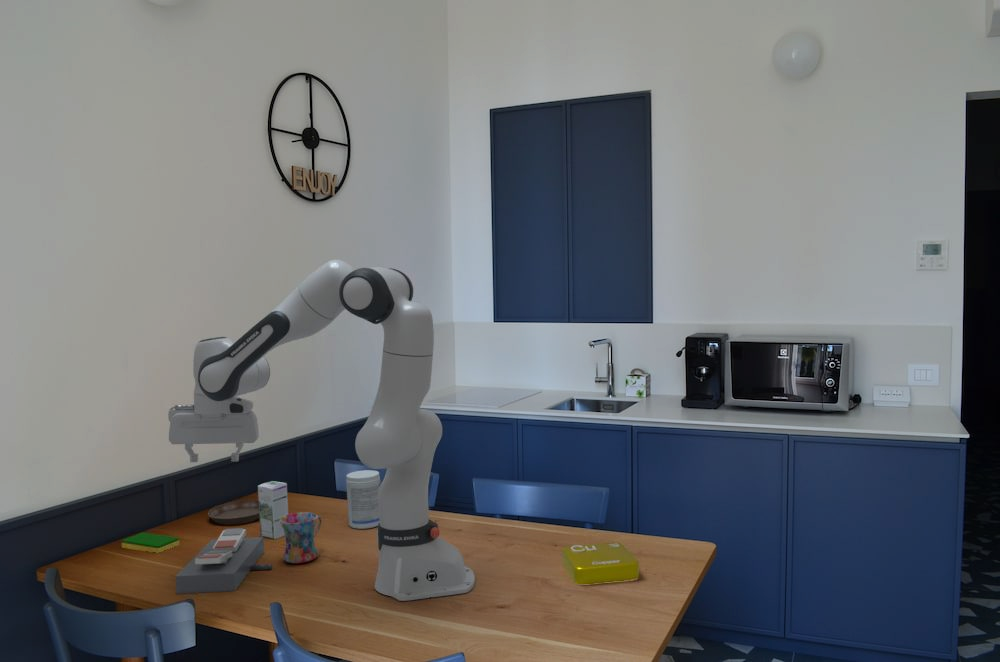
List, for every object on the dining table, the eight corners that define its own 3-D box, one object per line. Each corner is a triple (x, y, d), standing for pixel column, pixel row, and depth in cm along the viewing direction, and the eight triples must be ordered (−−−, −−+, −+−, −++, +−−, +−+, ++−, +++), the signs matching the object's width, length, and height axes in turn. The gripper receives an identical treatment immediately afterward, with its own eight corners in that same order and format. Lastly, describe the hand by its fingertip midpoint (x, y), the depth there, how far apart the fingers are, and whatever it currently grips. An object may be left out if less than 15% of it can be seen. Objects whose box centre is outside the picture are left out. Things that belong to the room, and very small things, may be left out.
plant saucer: (222, 531, 214) (222, 521, 214) (199, 518, 227) (198, 508, 227) (281, 517, 226) (280, 507, 226) (255, 506, 239) (254, 496, 239)
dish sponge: (158, 555, 197) (158, 545, 197) (121, 549, 202) (120, 540, 202) (180, 546, 203) (179, 537, 203) (143, 540, 209) (142, 532, 209)
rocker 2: (232, 559, 180) (232, 549, 181) (220, 567, 171) (220, 556, 172) (208, 561, 180) (208, 550, 180) (195, 568, 171) (195, 557, 171)
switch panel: (284, 551, 195) (283, 536, 195) (258, 589, 170) (257, 572, 170) (212, 554, 194) (212, 539, 194) (176, 593, 169) (175, 576, 169)
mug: (300, 568, 182) (297, 525, 182) (273, 562, 187) (271, 520, 187) (335, 553, 193) (333, 512, 192) (309, 547, 198) (307, 507, 197)
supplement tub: (389, 524, 215) (387, 473, 214) (361, 532, 209) (358, 479, 208) (369, 517, 222) (367, 468, 221) (341, 525, 216) (339, 474, 215)
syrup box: (290, 533, 209) (288, 482, 208) (273, 540, 204) (271, 487, 204) (276, 530, 212) (273, 479, 212) (259, 537, 207) (256, 484, 207)
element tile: (576, 588, 166) (575, 567, 166) (560, 564, 181) (560, 544, 181) (641, 582, 168) (641, 561, 168) (621, 558, 183) (620, 539, 183)
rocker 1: (246, 536, 193) (245, 528, 192) (236, 554, 184) (235, 545, 183) (224, 537, 192) (223, 529, 192) (213, 556, 184) (212, 547, 183)
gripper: (164, 407, 176) (165, 465, 177) (254, 406, 179) (255, 463, 180) (172, 402, 183) (173, 459, 184) (259, 401, 185) (260, 457, 186)
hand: (214, 461), depth 182 cm, fingers open, 8 cm apart
